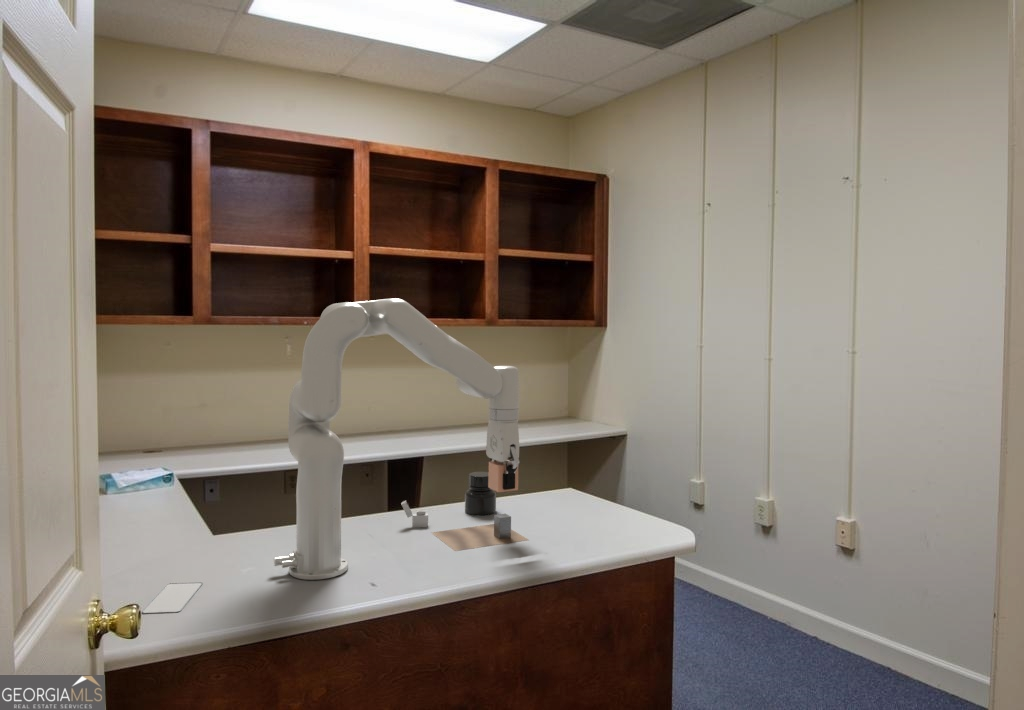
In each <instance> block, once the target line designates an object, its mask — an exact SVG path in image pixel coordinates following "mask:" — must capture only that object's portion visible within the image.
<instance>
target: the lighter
mask: <svg viewBox="0 0 1024 710" xmlns="http://www.w3.org/2000/svg"><path fill="white" fill-rule="evenodd" d="M400 504H401V507H402V508H403V511H404V514H405V515H406V517H407V518H411V517H412V520H411V521H412V522H411V523H412V524H411V525H412V527H411V528H429V513H427V512H426V511H425V510H416V513H413V511H412V510H411V508H410V506H409V503H408V502H407V500H403V501H402V502H401V503H400Z"/></svg>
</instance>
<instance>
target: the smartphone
mask: <svg viewBox="0 0 1024 710" xmlns="http://www.w3.org/2000/svg"><path fill="white" fill-rule="evenodd" d="M203 584H204V583H203V582H178V583H177V582H175V583H174V582H173V583H168V584H167V585H166V586H165V587H163V589H162V590H161V591H160V592H159V593H158V594H157V595H156V596H155V598H153V599H152V601H150V602H149V604H148V605H147V606H146V607H145V608H144V609H143V610H142V611H141V614H142V615H152V614H153V615H155V614H157V615H159V614H179V613H181V612H182V611H183V609H184V608H185V607H186V605H187V604H188V603H189V602H190V601H191V600H192V598H193V597H194V596H195V594H196V593H197V592H198V591H199V589H200V588H201V587H202V585H203Z"/></svg>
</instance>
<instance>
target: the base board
mask: <svg viewBox="0 0 1024 710" xmlns="http://www.w3.org/2000/svg"><path fill="white" fill-rule="evenodd" d="M430 533H431V535H433V536H435V537H436V538H437V539H439V540H440V541H441V542H443V543H444V545H447V546H448V547H449V548H451V549H452V550H453V551H454V552H458V551H466V550H472V549H479V548H484V547H492V546H498V545H506V544H512V543H518V542H526V541H529V538H527V537H525V536H524V535H522V534H520V533H518V532H516V531H514V530H513V529H511V538H506V539H498V538H496V537H495V536H494V523H492V524H491V523H490V524H484V525H477V526H471V527H469V526H468V527H463V528H453V529H447V530H441V531H432V532H430Z"/></svg>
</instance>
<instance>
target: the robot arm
mask: <svg viewBox="0 0 1024 710" xmlns="http://www.w3.org/2000/svg"><path fill="white" fill-rule="evenodd" d="M379 335H389V336H390V337H392V339H394V340H395V341H396V342H398V343H399V344H401V345H402V346H404V347H405V348H406V349H407V350H408V351H410V352H411V353H413V355H415V356H416V357H417V358H418V359H420V360H421V361H422V362H423V363H426V364H428V365H429V366H431V367H434V368H435V369H436V368H437V369H439V370H442V371H443V372H447V373H448V374H449V375H452V376H453V377H455V378H456V379H455V384H456V386H457V388H458V389H459V391H461V392H462V393H463V394H464V395H468V396H471V397H474V398H475V397H477V398H481V399H484V400H485V399H488V425H487V430H486V446H485V447H486V448H485V453H486V456H487V458H489V459H490V462H491V461H498V462H501V463H502V462H503V465H504V474H503V489H504V490H508V489H514V488H515V473H516V469H517V466H518V467H519V465H520V459H519V458H520V433H519V423H518V422H519V419H520V418H519V417H520V415H519V414H520V413H519V412H520V371H519V368H518V367H516V366H513V365H496V366H493V365H492V364H491V363H489V362H488V361H487V360H485V359H484V358H483V356H481V355H480V354H478V353H477V352H475V351H474V350H472V349H471V348H470V347H468V346H466V345H464V344H463V343H462V342H460V341H458V340H457V339H455V338H454V337H452V336H451V335H449V334H448V333H446V332H445V331H443V329H441V328H440V327H438V325H437V324H434V322H432V320H430V319H428V318H427V317H426V316H425V315H424V314H423V313H422V312H420V311H419V310H418V309H416V308H415V307H414V306H413V305H411V304H410V303H409V302H407V301H406V300H404V299H401V298H396V297H395V298H391V297H390V298H383V299H376V300H375V299H374V300H369V301H368V300H365V301H353V302H351V301H350V302H349V301H345V302H338V303H337V302H336V303H332V304H330V305H328V306H326V308H325V309H323V311H322V313H321V315H320V317H319V319H318V320H317V321H316V322H315V324H314V325H313V327H312V328H311V329H310V331H309V333H308V335H307V337H306V339H305V341H304V342H305V343H304V346H303V351H302V360H301V361H302V363H301V371H300V372H301V376H300V380H298V381H297V382H296V383H295V385H294V386H293V388H292V390H291V391H290V395H289V403H288V404H289V405H288V439H287V440H288V442H287V443H288V449H289V452H290V454H291V456H292V457H293V458H294V460H296V461H297V463H298V465H297V466H298V467H297V475H296V477H297V479H296V494H295V499H296V500H295V501H296V548H293V549H292V550H293V551H292V553H288V555H284V556H283V555H281V556H274V557H273V564H274V565H273V566H274V567H278V566H281V568H282V569H285V568H288V571H289V575H290V576H292V577H293V578H296V579H299V580H307V581H308V580H309V581H310V580H311V581H315V580H316V581H318V580H325V579H326V580H327V579H330V578H335V577H338V576H340V575H342V574H344V573H346V572H347V570H348V569H349V561H347V559H345V558H343V557H342V476H343V468H344V461H345V451H344V446H343V443H342V440H341V439H340V437H338V435H337V434H336V433H334V432H333V431H332V430H331V420H333V419H334V418H336V416H337V415H338V414H339V412H340V409H341V406H342V370H343V361H344V355H345V352H346V349H347V348H348V347H349V345H350V344H351V343H352V342H354V341H355V340H357V339H359V338H365V337H373V336H379ZM507 460H510V461H507ZM509 463H511V464H510V465H509V466H507V464H509Z"/></svg>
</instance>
